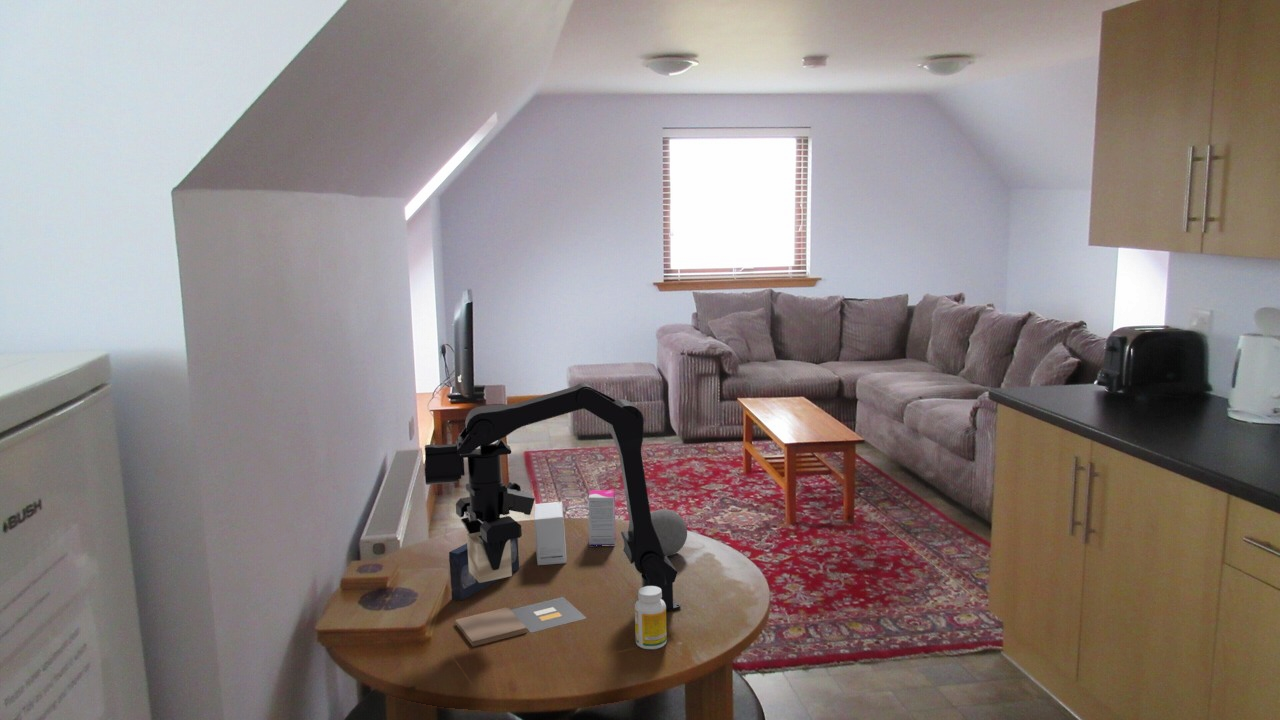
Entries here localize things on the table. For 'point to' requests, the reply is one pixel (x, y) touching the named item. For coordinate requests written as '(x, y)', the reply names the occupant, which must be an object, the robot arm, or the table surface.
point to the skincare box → (549, 533)
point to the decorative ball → (669, 530)
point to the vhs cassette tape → (463, 579)
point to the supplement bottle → (650, 618)
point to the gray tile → (547, 614)
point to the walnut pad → (490, 626)
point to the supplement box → (601, 517)
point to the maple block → (486, 561)
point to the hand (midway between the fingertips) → (489, 563)
